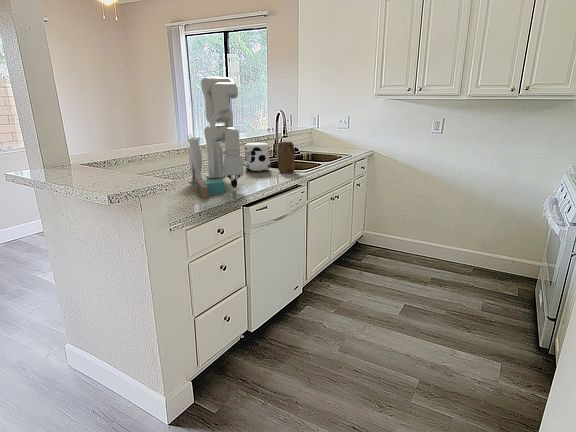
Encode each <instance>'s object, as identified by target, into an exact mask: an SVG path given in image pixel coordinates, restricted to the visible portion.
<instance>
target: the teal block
mask: <svg viewBox="0 0 576 432" xmlns="http://www.w3.org/2000/svg"><path fill="white" fill-rule="evenodd" d="M203 181H204V182H205V183H206V185H207V186H208V194H209V195H217V194H218V195H219V194H226V183H225V181H224V180H223V179H222V178H216V179H207V180H203Z"/></svg>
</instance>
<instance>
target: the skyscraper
mask: <svg viewBox="0 0 576 432" xmlns="http://www.w3.org/2000/svg"><path fill="white" fill-rule="evenodd" d="M189 137H190V138H189ZM200 140H201V137H200V136H192V134H191V133H189V134H188V136H187V141H188V143H189V146H188V147H189V148H188V160H189V166H190V170H191V174H192V176H191V180H190V181H188V183H189V184H192V185H197V183H196V179H202V180H203V181H204V179H203V176H202V173H201V172H202V168H203V167H202V166H203V156H202V150H201V146H200Z"/></svg>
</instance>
